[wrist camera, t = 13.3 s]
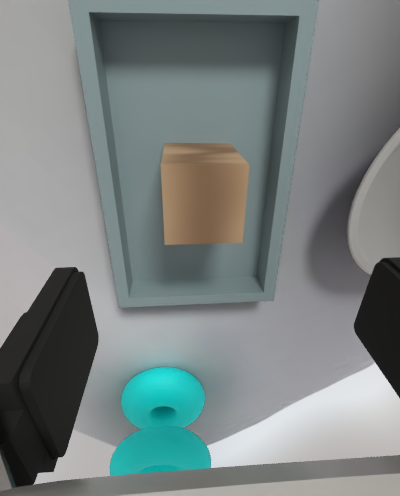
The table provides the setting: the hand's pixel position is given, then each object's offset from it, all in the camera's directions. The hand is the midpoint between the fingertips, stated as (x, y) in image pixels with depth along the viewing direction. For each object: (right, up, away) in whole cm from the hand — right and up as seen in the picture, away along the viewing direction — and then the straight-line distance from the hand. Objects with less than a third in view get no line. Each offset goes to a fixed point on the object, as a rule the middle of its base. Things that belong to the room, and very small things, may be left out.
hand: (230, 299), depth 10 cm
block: (-1, +8, +14) cm, 16 cm away
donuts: (-5, -16, +28) cm, 33 cm away
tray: (-1, +8, +15) cm, 17 cm away
